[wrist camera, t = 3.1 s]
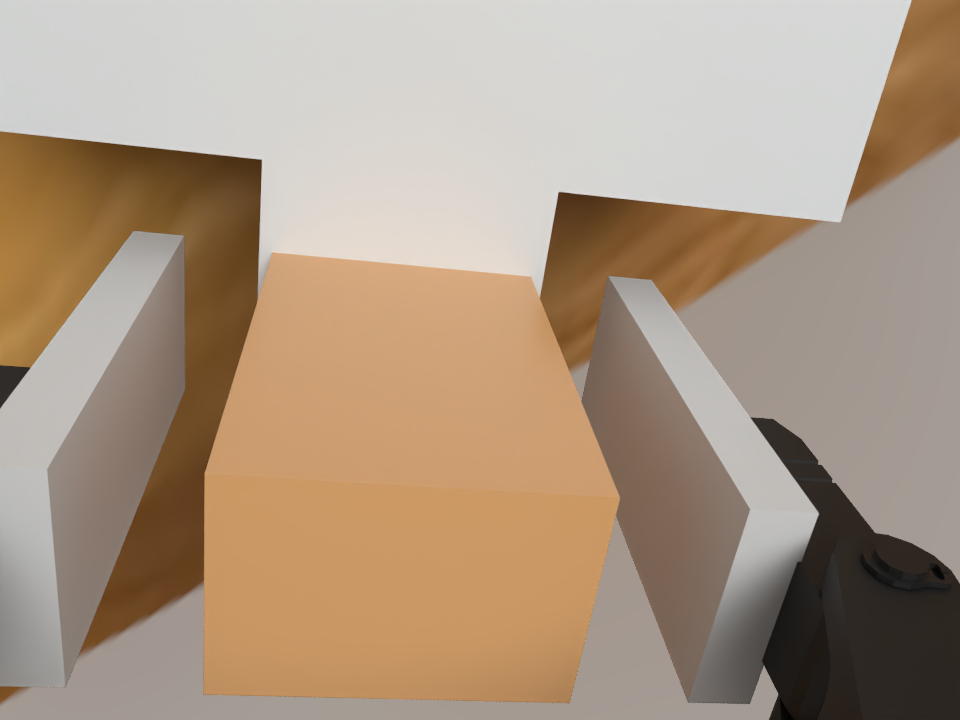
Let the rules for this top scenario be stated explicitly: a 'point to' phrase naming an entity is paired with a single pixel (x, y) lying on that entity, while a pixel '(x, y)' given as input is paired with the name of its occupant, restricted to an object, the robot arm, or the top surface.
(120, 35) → the lid
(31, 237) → the top surface
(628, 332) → the robot arm
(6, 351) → the top surface
